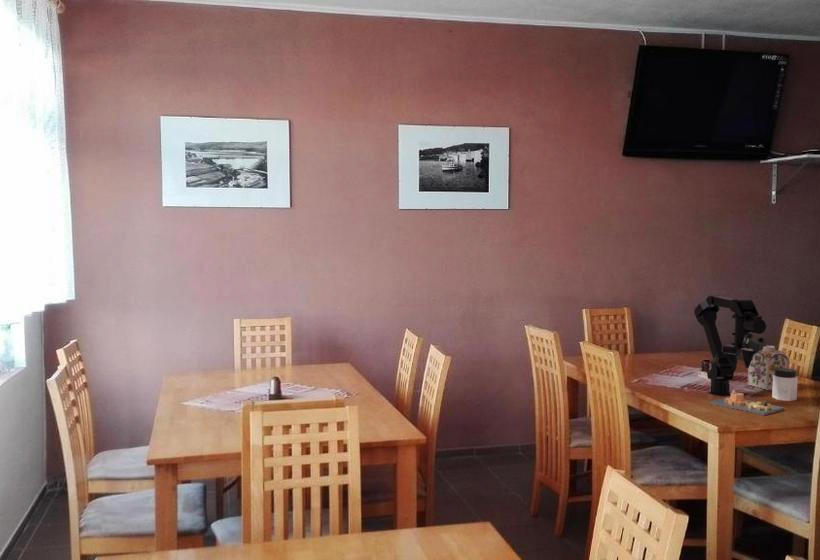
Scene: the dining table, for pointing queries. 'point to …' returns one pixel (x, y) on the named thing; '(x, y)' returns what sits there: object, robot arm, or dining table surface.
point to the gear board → (750, 406)
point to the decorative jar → (766, 367)
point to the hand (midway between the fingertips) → (740, 369)
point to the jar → (784, 384)
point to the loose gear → (736, 399)
